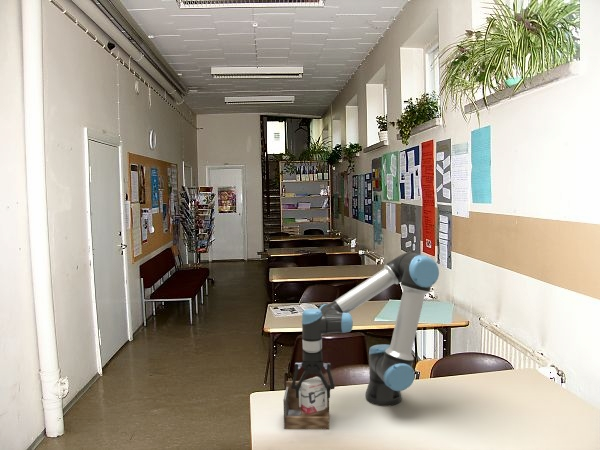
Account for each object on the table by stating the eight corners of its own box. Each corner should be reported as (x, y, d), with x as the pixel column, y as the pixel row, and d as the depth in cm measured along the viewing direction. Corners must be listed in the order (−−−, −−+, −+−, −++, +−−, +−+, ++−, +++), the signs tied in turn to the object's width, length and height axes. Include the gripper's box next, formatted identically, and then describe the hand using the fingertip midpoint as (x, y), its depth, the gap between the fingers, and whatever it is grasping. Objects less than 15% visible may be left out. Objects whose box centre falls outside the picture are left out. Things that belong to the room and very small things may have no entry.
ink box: (307, 415, 193) (307, 385, 192) (300, 410, 197) (300, 381, 196) (326, 409, 198) (325, 379, 197) (318, 404, 202) (318, 376, 201)
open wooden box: (329, 413, 204) (328, 381, 203) (329, 429, 191) (328, 394, 190) (287, 413, 205) (286, 381, 204) (284, 428, 192) (283, 394, 191)
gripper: (340, 346, 199) (341, 402, 200) (284, 346, 200) (285, 401, 202) (341, 352, 191) (341, 410, 193) (282, 352, 193) (284, 409, 194)
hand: (313, 405), depth 197 cm, fingers closed on ink box, 9 cm apart
